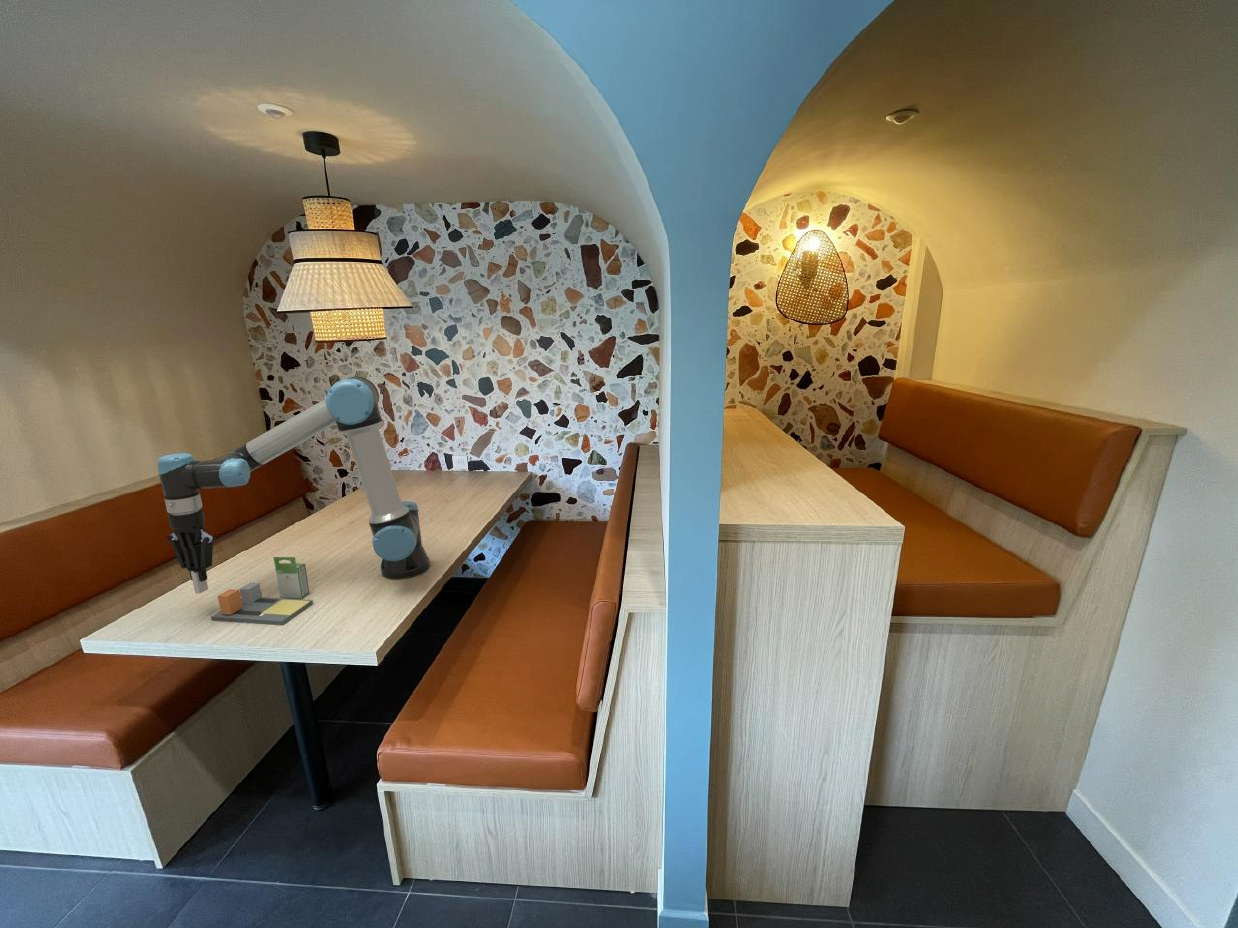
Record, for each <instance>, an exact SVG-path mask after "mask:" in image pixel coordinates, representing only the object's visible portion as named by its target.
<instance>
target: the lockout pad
mask: <svg viewBox="0 0 1238 928" xmlns="http://www.w3.org/2000/svg"><path fill="white" fill-rule="evenodd" d="M309 602H310V601H302V600H285V599H282V600H281V601H279V602H278V603H276V604H274V605H273V606H271V607H270V608H268V609H267V610H265V611H264V612H262V613H261V614H272V615H288V616H290V615H292V614H293V613H295V612H296V611H298V610H299V609H300V608H302V607H303V606H305V605H306V604H308V603H309Z"/></svg>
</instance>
